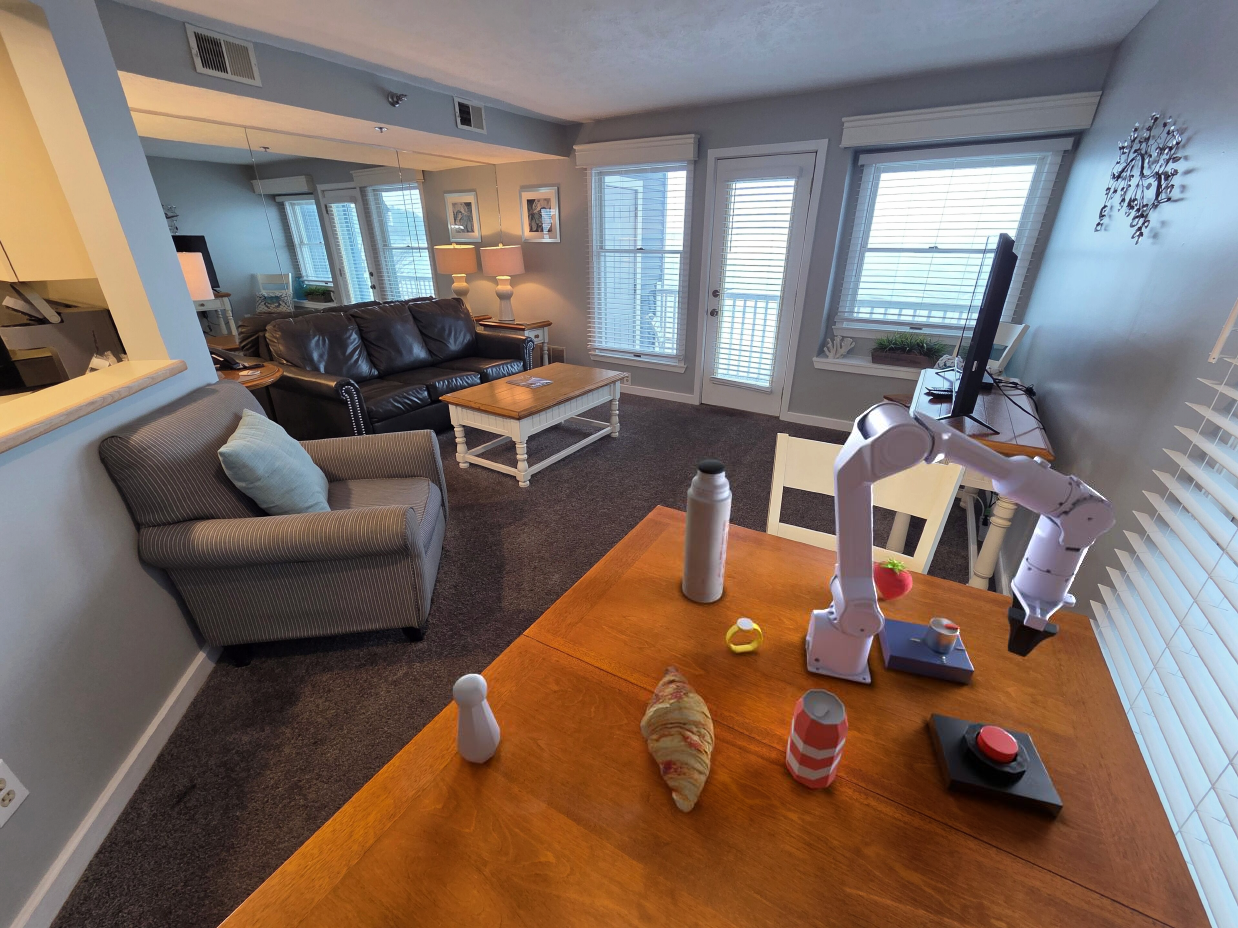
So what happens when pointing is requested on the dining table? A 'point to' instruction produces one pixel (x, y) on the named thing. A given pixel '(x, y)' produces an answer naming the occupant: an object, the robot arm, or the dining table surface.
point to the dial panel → (922, 653)
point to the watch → (744, 626)
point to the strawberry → (892, 579)
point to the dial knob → (941, 635)
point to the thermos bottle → (706, 532)
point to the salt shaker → (475, 720)
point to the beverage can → (816, 738)
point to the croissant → (679, 737)
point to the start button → (997, 744)
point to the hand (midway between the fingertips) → (1017, 637)
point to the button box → (992, 767)
